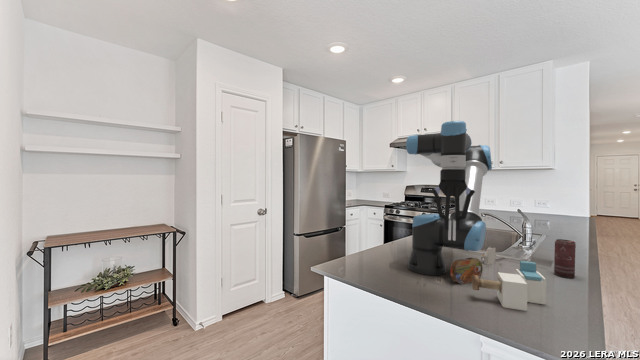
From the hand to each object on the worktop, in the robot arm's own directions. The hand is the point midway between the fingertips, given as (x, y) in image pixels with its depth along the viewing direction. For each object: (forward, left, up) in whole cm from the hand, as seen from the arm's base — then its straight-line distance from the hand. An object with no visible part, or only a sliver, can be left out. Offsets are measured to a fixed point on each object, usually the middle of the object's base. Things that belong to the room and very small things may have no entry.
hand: (451, 239), depth 92 cm
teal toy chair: (+24, +7, -11) cm, 27 cm away
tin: (+6, +15, -19) cm, 25 cm away
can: (+43, +36, -19) cm, 59 cm away
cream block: (+17, 0, -18) cm, 25 cm away
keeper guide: (+24, +7, -18) cm, 31 cm away
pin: (+13, 0, -16) cm, 20 cm away
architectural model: (+18, +42, -19) cm, 50 cm away
